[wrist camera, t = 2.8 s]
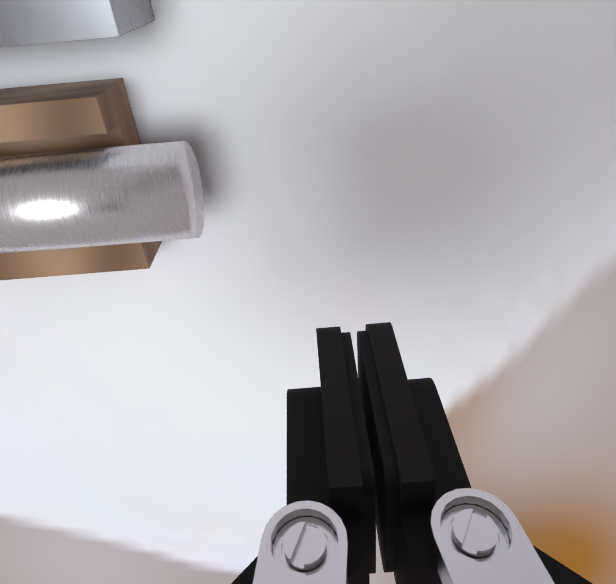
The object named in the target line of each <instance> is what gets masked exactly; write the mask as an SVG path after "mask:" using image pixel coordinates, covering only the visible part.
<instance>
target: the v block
mask: <svg viewBox="0 0 616 584" xmlns="http://www.w3.org/2000/svg"><path fill="white" fill-rule="evenodd" d="M152 21H154V16H153V11H152V7H151V3H150V0H0V47H9V46H20V45H31V44H42V43H52V42H63V41H74V40H85V39H96V38H107V37H118V36H121V35H123V34H125V33H127V32H130V31H132V30H134V29H136V28H138V27H141V26H143V25H145V24H147V23H149V22H152Z"/></svg>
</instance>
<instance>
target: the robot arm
mask: <svg viewBox="0 0 616 584" xmlns="http://www.w3.org/2000/svg"><path fill="white" fill-rule="evenodd" d="M316 331H317V344H318V356H319V369H320V381H321V387H312V388H300V389H288V390H287V505H286V506H284V507H283V508H281V509H280V510H279V511H278V512H276V513H275V514H274V515H273V516H272V518H271V519H270V520H269V522H268V523H267V524H266V527H265V530H264V532H263V535H262V539H261V544H260V549H259V554H258V556H257V557H256V558H255V559H254V561H253V562H252V563H251V564H250V565H249V566H248V567H247V568H246V569H245V570H244V571H243V572H242V573H241V574H240V575H239V576H238V577H237V578H236V579H235V580H234V581H233V582H232V584H369V574H370V573H376V527H377V534H378V540H379V546H380V552H381V559H382V565H383V570H384V572H394V576H395V582H396V584H592V583H590V582H589V581H587V580H586V579H584V578H583V577H581V576H580V575H578V574H576V573H575V572H573V571H572V570H570V569H569V568H567V567H566V566H564V565H563V564H561V563H559V562H558V561H556V560H555V559H553V558H552V557H550V556H548V555H547V554H546V553H544V552H542V551H541V550H539V549H538V548H536V547H535V546H533V545H532V544H531V542H530V540H529V539H528V537H527V535H526V533H525V532H524V530H523V528H522V527H521V525H520V523H519V521H518V520H517V518H516V517H515V515H514V514H513V513H512V511H511V510H510V509H509V507H508V506H507V505H505V504H504V503H503V502H502V501H500V500H499V499H498V498H497V497H495V496H493V495H491V494H489V493H486V492H484V491H482V490H477V489H472V488H471V486H470V483H469V480H468V477H467V474H466V471H465V468H464V466H463V463H462V460H461V457H460V454H459V451H458V449H457V446H456V443H455V440H454V437H453V434H452V432H451V429H450V426H449V423H448V420H447V417H446V414H445V412H444V409H443V406H442V403H441V400H440V397H439V395H438V392H437V389H436V386H435V384H434V381H433V380H432V379H431V378H422V379H410V380H407V376H406V373H405V369H404V366H403V362H402V359H401V355H400V352H399V349H398V345H397V342H396V338H395V335H394V331H393V328H392V325H391V323H390V322H388V323H376V324H366V331H358V332H357V350H358V375H357V370H356V364H355V358H354V352H353V346H352V340H351V335H350V332H345V333H341V329H340V327H328V328H316Z"/></svg>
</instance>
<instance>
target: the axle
mask: <svg viewBox="0 0 616 584" xmlns="http://www.w3.org/2000/svg"><path fill="white" fill-rule="evenodd" d="M203 225H204V196H203V188H202V181H201V176H200V171H199V167H198V163H197V160H196V157H195V154H194V151H193V149H192V147H191V146H190V144H189V143H188V142H187V141H176V142H164V143H153V144H141V145H129V146H118V147H106V148H95V149H83V150H71V151H60V152H48V153H37V154H25V155H13V156H2V157H0V254H5V253H18V252H30V251H43V250H55V249H67V248H80V247H92V246H104V245H117V244H129V243H142V242H154V241H166V240H179V239H191V238H199V237H200V236H201V234H202V231H203Z"/></svg>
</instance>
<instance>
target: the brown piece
mask: <svg viewBox="0 0 616 584" xmlns="http://www.w3.org/2000/svg"><path fill="white" fill-rule="evenodd" d="M129 145H141V144H140V140H139V137H138V133H137V130H136V126H135V122H134V119H133V115H132V112H131V108H130V104H129V101H128V97H127V94H126V90H125V86H124V83H123V79H122V78H118V79H107V80H96V81H85V82H74V83H62V84H51V85H40V86H29V87H18V88H7V89H0V157H2V156H13V155H25V154H37V153H48V152H60V151H71V150H83V149H95V148H106V147H118V146H129ZM161 242H162V241H154V242H142V243H129V244H117V245H104V246H92V247H80V248H67V249H55V250H43V251H30V252H18V253H5V254H0V280H9V279H22V278H35V277H47V276H60V275H72V274H85V273H97V272H110V271H123V270H135V269H148V268H150V266H151V264H152V262H153V259H154V257H155V255H156V253H157V251H158V249H159V246H160V244H161Z"/></svg>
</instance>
